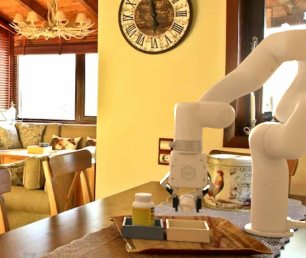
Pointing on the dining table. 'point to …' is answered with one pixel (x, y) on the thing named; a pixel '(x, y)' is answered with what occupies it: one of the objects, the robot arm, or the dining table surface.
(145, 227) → the slate bin
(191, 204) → the white ball
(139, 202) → the pill bottle
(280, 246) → the dining table surface
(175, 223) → the cream bin
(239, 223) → the dining table surface
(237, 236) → the dining table surface
